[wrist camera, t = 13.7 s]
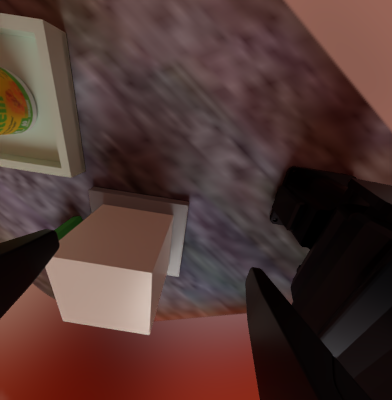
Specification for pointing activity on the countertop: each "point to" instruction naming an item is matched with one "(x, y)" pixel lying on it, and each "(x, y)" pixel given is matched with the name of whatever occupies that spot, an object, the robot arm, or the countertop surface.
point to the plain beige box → (118, 260)
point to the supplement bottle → (15, 105)
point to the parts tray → (42, 98)
